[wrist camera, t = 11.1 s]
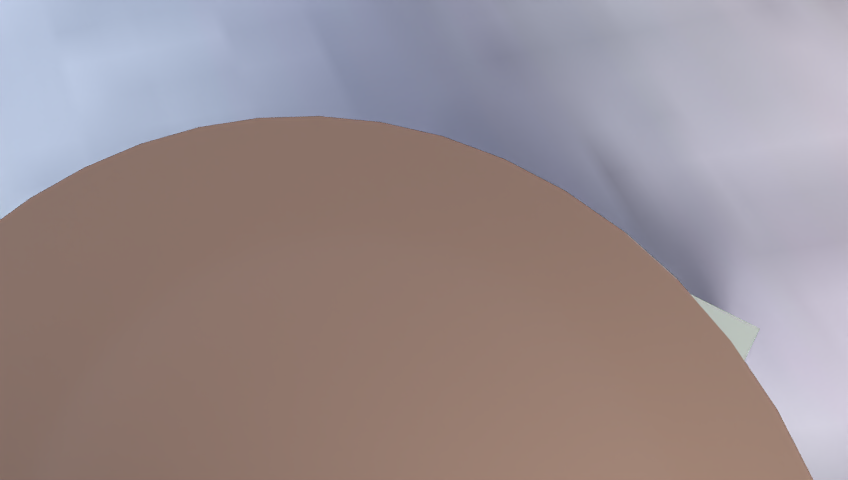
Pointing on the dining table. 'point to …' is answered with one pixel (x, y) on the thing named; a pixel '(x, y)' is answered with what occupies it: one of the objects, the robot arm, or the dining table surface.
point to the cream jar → (354, 323)
